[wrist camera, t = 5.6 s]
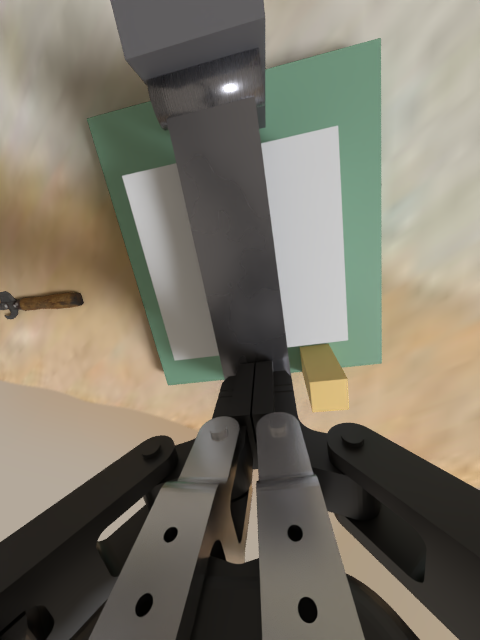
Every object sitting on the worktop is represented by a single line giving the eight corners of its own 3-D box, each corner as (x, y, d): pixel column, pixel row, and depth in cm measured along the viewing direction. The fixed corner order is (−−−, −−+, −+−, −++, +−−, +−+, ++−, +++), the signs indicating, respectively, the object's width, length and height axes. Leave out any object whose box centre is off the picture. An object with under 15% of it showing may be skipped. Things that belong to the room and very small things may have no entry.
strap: (193, 132, 14) (142, 65, 8) (260, 115, 13) (257, 30, 8) (245, 392, 19) (236, 464, 13) (295, 388, 18) (308, 460, 13)
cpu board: (102, 127, 16) (-94, 9, 7) (369, 56, 14) (548, -239, 5) (174, 375, 22) (112, 475, 13) (373, 353, 20) (461, 457, 11)
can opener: (84, 290, 21) (74, 294, 20) (89, 318, 21) (80, 323, 20) (-19, 288, 22) (-34, 291, 20) (-10, 315, 22) (-24, 320, 21)
